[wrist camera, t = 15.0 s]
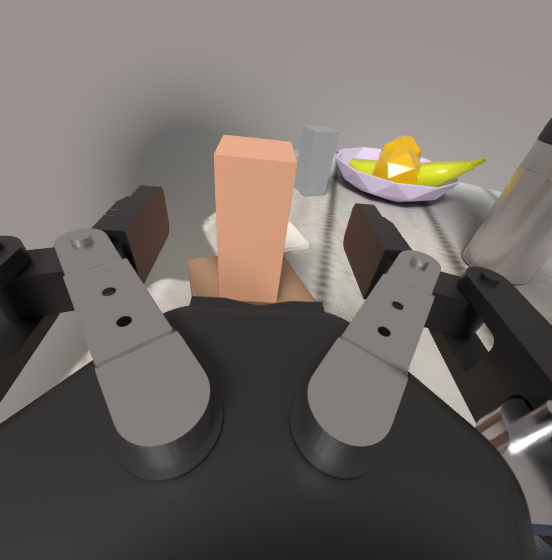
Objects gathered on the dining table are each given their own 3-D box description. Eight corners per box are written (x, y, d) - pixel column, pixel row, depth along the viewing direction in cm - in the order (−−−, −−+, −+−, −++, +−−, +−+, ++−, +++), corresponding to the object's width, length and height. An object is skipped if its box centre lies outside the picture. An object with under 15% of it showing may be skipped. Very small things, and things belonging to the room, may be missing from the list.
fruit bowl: (307, 177, 65) (317, 124, 58) (377, 166, 79) (392, 122, 72) (408, 231, 49) (439, 167, 42) (475, 205, 63) (506, 153, 56)
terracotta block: (274, 268, 28) (291, 141, 20) (276, 302, 24) (296, 162, 17) (225, 265, 28) (223, 134, 20) (219, 299, 24) (213, 154, 16)
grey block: (313, 185, 62) (325, 126, 54) (324, 194, 58) (339, 132, 51) (293, 186, 60) (303, 125, 52) (304, 196, 56) (315, 131, 49)
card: (289, 226, 46) (290, 220, 45) (308, 248, 41) (309, 243, 40) (231, 232, 42) (231, 226, 42) (244, 258, 37) (245, 252, 37)
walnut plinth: (273, 280, 34) (277, 247, 31) (310, 342, 28) (320, 307, 24) (191, 296, 31) (187, 260, 28) (210, 371, 24) (207, 335, 21)
